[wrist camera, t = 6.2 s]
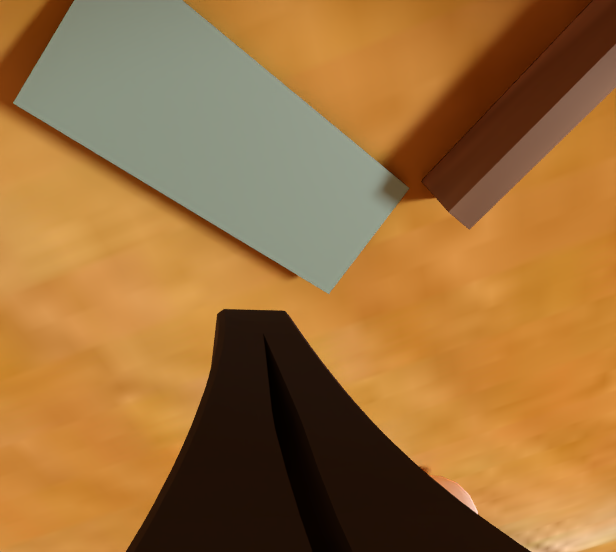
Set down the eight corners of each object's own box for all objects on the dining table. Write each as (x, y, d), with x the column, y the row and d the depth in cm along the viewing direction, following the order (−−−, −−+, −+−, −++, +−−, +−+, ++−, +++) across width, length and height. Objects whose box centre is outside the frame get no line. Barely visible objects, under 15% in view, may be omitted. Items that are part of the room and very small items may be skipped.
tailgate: (109, -60, 14) (12, 103, 15) (409, 188, 20) (328, 293, 21) (109, -59, 14) (14, 101, 15) (405, 186, 20) (326, 290, 21)
